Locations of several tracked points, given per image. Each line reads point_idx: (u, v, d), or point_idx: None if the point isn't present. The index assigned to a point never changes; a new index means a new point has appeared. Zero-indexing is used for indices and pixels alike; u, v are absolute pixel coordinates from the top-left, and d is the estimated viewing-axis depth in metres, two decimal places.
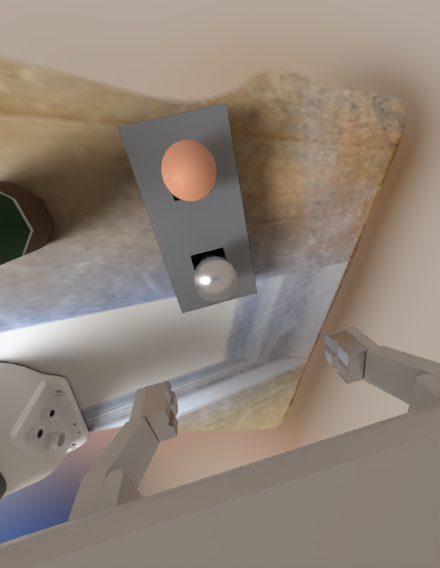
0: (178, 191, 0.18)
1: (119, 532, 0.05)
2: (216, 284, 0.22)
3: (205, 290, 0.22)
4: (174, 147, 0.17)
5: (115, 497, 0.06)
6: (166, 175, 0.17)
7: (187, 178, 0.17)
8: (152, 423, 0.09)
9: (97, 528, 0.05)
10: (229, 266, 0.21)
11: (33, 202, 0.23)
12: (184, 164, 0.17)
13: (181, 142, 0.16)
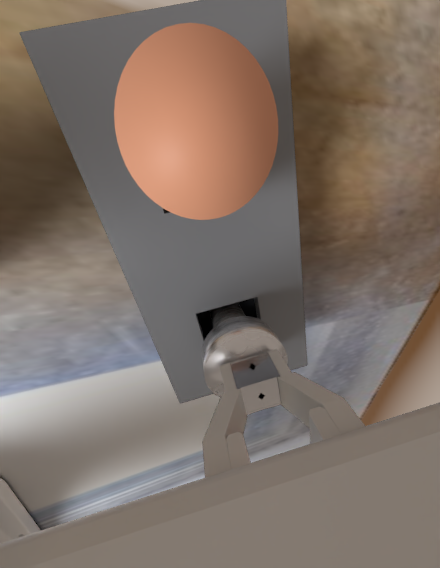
0: (169, 193, 0.06)
1: (119, 532, 0.05)
2: None
3: None
4: (154, 49, 0.05)
5: (246, 455, 0.07)
6: (132, 144, 0.06)
7: (193, 156, 0.06)
8: (245, 395, 0.09)
9: (97, 528, 0.05)
10: (273, 342, 0.11)
11: None
12: (186, 111, 0.06)
13: (177, 32, 0.05)
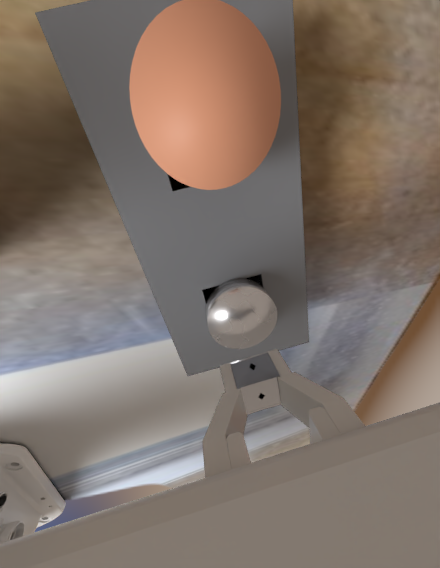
0: (179, 163, 0.07)
1: (119, 532, 0.05)
2: (242, 324, 0.13)
3: (224, 333, 0.14)
4: (166, 24, 0.05)
5: (246, 455, 0.07)
6: (145, 117, 0.06)
7: (201, 128, 0.06)
8: (245, 395, 0.09)
9: (97, 528, 0.05)
10: (265, 297, 0.13)
11: None
12: (195, 83, 0.06)
13: (187, 7, 0.05)
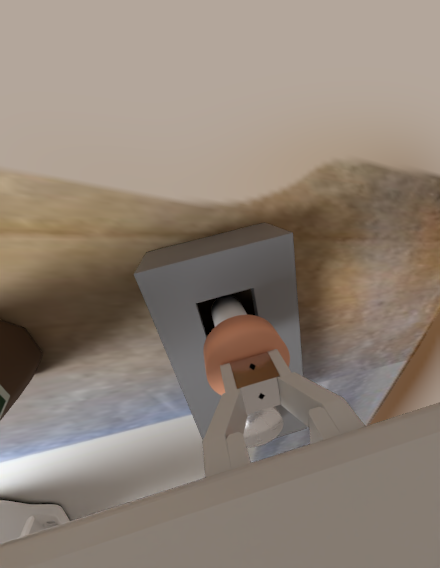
0: None
1: (119, 532, 0.05)
2: (257, 432, 0.18)
3: None
4: (229, 343, 0.10)
5: (246, 455, 0.07)
6: (213, 376, 0.11)
7: None
8: (245, 395, 0.09)
9: (97, 528, 0.05)
10: (274, 414, 0.17)
11: (13, 346, 0.16)
12: None
13: (241, 336, 0.10)
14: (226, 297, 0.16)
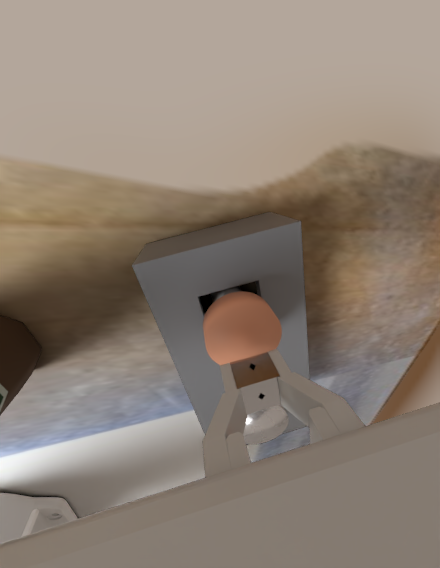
0: (226, 360, 0.13)
1: (119, 532, 0.05)
2: (261, 429, 0.17)
3: (247, 435, 0.17)
4: (226, 315, 0.11)
5: (246, 455, 0.07)
6: (211, 346, 0.12)
7: (240, 346, 0.12)
8: (245, 395, 0.09)
9: (97, 528, 0.05)
10: (279, 411, 0.17)
11: (10, 341, 0.16)
12: (238, 332, 0.12)
13: (236, 308, 0.11)
14: None
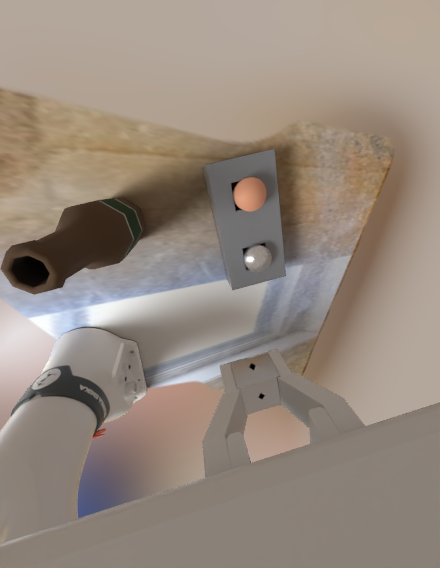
0: (243, 205, 0.30)
1: (119, 532, 0.05)
2: (258, 261, 0.35)
3: (251, 265, 0.35)
4: (244, 181, 0.29)
5: (246, 455, 0.07)
6: (238, 196, 0.30)
7: (249, 198, 0.30)
8: (245, 395, 0.09)
9: (97, 528, 0.05)
10: (267, 250, 0.35)
11: (139, 211, 0.34)
12: (248, 190, 0.30)
13: (248, 178, 0.29)
14: None
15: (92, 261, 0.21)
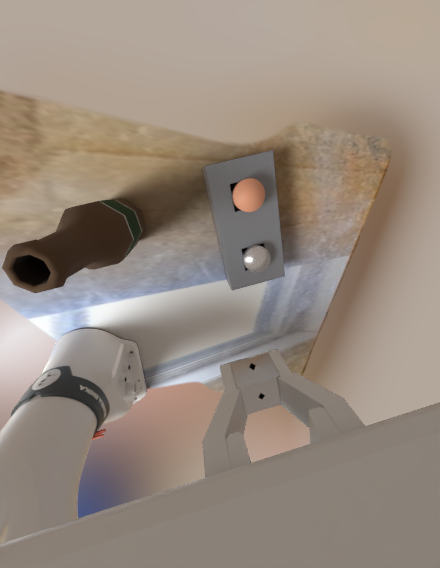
0: (242, 206, 0.31)
1: (119, 532, 0.05)
2: (257, 261, 0.35)
3: (250, 265, 0.35)
4: (243, 182, 0.29)
5: (246, 455, 0.07)
6: (237, 197, 0.30)
7: (248, 199, 0.30)
8: (245, 395, 0.09)
9: (97, 528, 0.05)
10: (266, 250, 0.35)
11: (139, 212, 0.34)
12: (247, 191, 0.30)
13: (247, 179, 0.29)
14: None
15: (92, 261, 0.21)
